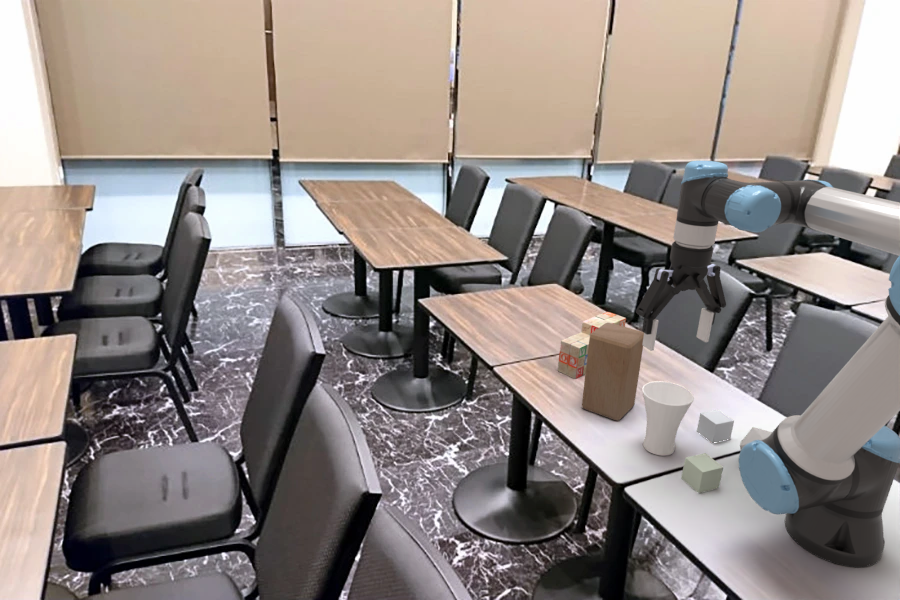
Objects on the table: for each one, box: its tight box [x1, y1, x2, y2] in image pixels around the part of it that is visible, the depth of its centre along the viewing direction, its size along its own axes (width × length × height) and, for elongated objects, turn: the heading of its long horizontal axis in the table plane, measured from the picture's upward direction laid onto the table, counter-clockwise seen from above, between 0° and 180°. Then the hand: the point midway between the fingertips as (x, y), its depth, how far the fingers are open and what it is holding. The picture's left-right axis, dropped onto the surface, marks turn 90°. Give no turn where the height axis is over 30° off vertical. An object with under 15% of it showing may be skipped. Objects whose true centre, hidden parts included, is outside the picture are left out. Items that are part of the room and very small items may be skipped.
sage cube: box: [681, 452, 724, 494], centre depth 125 cm, size 5×5×5 cm
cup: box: [641, 380, 695, 456], centre depth 135 cm, size 10×10×14 cm
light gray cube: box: [696, 409, 735, 444], centre depth 142 cm, size 5×5×5 cm
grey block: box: [739, 426, 773, 451], centre depth 131 cm, size 8×9×10 cm
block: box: [581, 323, 644, 421], centre depth 149 cm, size 10×10×20 cm
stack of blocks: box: [557, 311, 627, 380], centre depth 173 cm, size 21×6×12 cm, turn 133°
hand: (675, 343), depth 129 cm, fingers open, 13 cm apart
